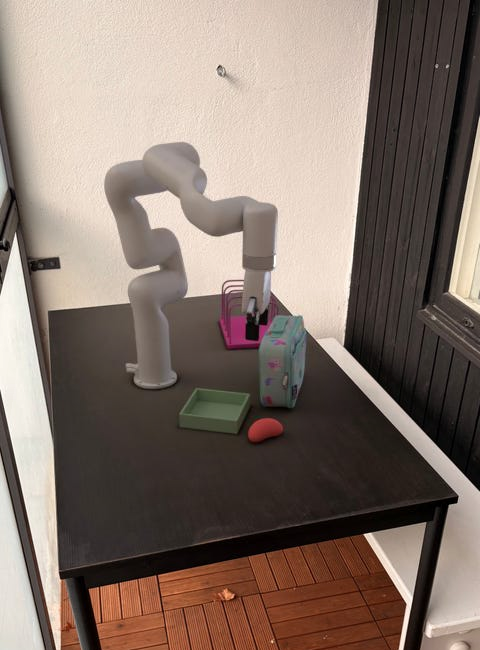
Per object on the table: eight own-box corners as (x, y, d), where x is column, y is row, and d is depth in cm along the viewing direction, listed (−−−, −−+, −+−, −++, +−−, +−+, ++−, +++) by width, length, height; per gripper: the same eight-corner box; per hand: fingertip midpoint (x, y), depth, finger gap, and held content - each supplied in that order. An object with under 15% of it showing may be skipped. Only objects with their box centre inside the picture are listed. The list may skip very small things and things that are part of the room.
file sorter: (267, 319, 233) (268, 277, 225) (280, 346, 212) (281, 300, 204) (219, 322, 231) (218, 279, 223) (227, 349, 210) (227, 303, 202)
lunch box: (294, 418, 170) (298, 342, 160) (256, 414, 172) (257, 339, 162) (306, 375, 193) (309, 306, 182) (272, 372, 195) (273, 304, 184)
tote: (179, 427, 166) (179, 414, 165) (196, 400, 179) (196, 388, 177) (237, 434, 163) (237, 420, 161) (250, 406, 176) (250, 393, 174)
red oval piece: (246, 437, 165) (241, 424, 159) (276, 420, 165) (273, 407, 160) (255, 452, 162) (250, 439, 156) (286, 435, 162) (283, 421, 157)
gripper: (251, 249, 153) (249, 317, 162) (233, 270, 138) (232, 344, 147) (282, 252, 151) (279, 320, 160) (267, 274, 137) (264, 348, 146)
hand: (256, 332), depth 154 cm, fingers open, 9 cm apart
